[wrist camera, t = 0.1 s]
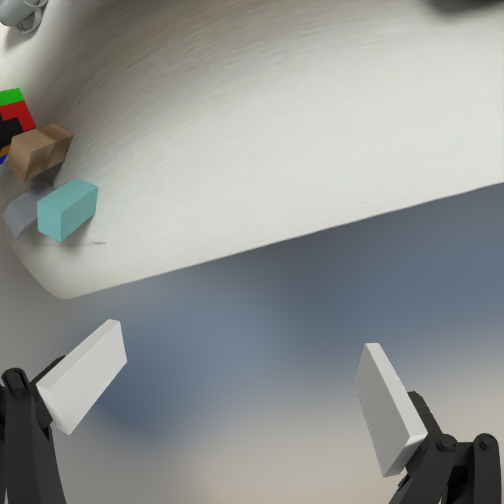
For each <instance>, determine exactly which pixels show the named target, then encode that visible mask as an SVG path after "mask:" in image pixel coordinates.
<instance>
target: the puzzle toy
mask: <svg viewBox="0 0 504 504" xmlns="http://www.w3.org/2000/svg"><path fill="white" fill-rule="evenodd" d="M35 127H36V126H35V123H34V121H33V119H32V117H31V115H30V113H29V110H28V108H27V106H26V104H25V101H24V99H23V97H22V94H21V92H20V89H19V88H16V89H11V90H6V91H2V92H0V164H2V163H4V162H6V161H8V156H9V151H10V146H11V142H12V137H14V136H16V135H19V134H22V133H24V132H27V131H30V130H33V129H35Z"/></svg>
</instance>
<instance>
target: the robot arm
mask: <svg viewBox="0 0 504 504" xmlns="http://www.w3.org/2000/svg"><path fill="white" fill-rule="evenodd" d="M126 362H127V359H126V354H125V348H124V343H123V338H122V331H121V325H120V321H116V320H111V319H108V320H107V321H106V322H105V323H104V324H103V325H101V326H100V327H99V328H98V329H97V330H96V331H94V332H93V333H92V334H91V335H90V336H89V337H87V338H86V339H85V340H84V341H83V342H82V343H81V344H79V345H78V346H77V347H76V348H75V349H74V350H73V351H71V352H70V354H68V355H67V356H62V357H60V358H58V359H56V360H55V361H53V362H52V363H51V364H50V366H48V367H47V368H45V370H43V371H42V372H41V373H40V374H39V375H38V376H37V377H35V378H34V379H33V380H32V381H31V382H30V383H29V382H28V379H27V377H26V374H25V372H24V371H23V370H22V369H20V368H11V369H8V370H6V371H5V372H4V373H3V374H2V376H1V378H2V380H3V383H4V384H5V387H3V386H1V384H0V504H4V501H5V493H6V488H7V497H8V504H66V500H65V497H64V493H63V489H62V485H61V481H60V477H59V472H58V467H57V462H56V456H55V450H54V443H53V437H52V429H51V426H50V425H49V424H50V423H51V422H52V421H54V424H55V425H56V427H57V429H59V430H60V431H62V432H64V433H67V434H68V435H70V434H71V432H72V431H73V429H75V427H76V426H77V425H78V423H79V422H80V421H81V419H82V418H83V417H84V415H85V414H86V413H87V411H88V410H89V409H90V408H91V406H92V405H93V404H94V403H95V401H96V400H97V399H98V397H99V396H100V395H101V394H102V392H103V391H104V390H105V389H106V387H107V386H108V385H109V384H110V382H111V381H112V379H114V377H115V376H116V375H117V373H118V372H119V371H120V370H121V369H122V367H123V366H124V365H125V364H126ZM354 386H355V389H356V392H357V395H358V398H359V401H360V404H361V407H362V410H363V413H364V416H365V419H366V422H367V426H368V429H369V432H370V435H371V438H372V442H373V445H374V448H375V451H376V455H377V458H378V462H379V465H380V469H381V472H382V476H383V477H388V476H393V475H398V474H400V472H401V471H402V470H403V469H404V467H406V470H407V475H406V476H405V477H404V478H403V479H402V481H401V482H400V483H399V485H398V486H399V488H398V489H397V491H396V493H395V494H394V496H393V497H392V499H391V501H390V502H389V504H438V503H439V501H440V499H441V497H442V499H441V504H501V469H500V456H499V447H498V442H497V440H496V439H495V437H494V436H492V435H490V434H486V433H483V434H480V435H478V436H477V437H476V438H475V440H474V441H473V442H457V440H456V439H455V438H454V437H453V436H451V435H449V434H443V433H442V432H441V430H440V428H439V426H438V424H437V422H436V420H435V419H434V417H433V415H432V414H431V413H430V410H429V408H428V407H427V405H426V403H425V401H424V400H423V398H422V397H421V396H420V395H419V394H418V393H416V392H415V391H413V392H406V390H405V388H404V387H403V385H402V383H401V381H400V379H399V378H398V376H397V374H396V372H395V371H394V369H393V367H392V365H391V364H390V362H389V360H388V359H387V357H386V355H385V353H384V352H383V350H382V348H381V347H380V345H379V343H366V344H365V347H364V351H363V354H362V358H361V361H360V365H359V368H358V372H357V375H356V379H355V382H354Z"/></svg>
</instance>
